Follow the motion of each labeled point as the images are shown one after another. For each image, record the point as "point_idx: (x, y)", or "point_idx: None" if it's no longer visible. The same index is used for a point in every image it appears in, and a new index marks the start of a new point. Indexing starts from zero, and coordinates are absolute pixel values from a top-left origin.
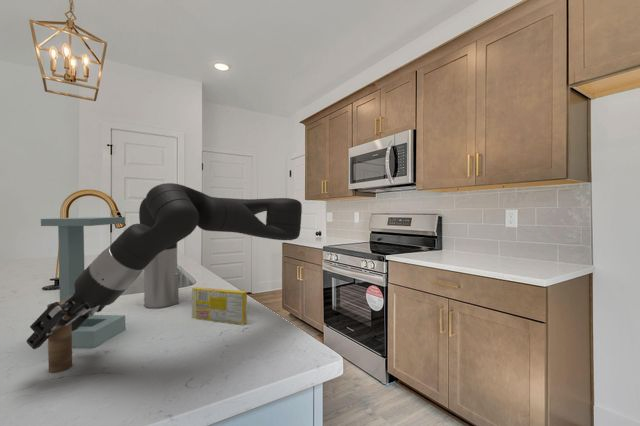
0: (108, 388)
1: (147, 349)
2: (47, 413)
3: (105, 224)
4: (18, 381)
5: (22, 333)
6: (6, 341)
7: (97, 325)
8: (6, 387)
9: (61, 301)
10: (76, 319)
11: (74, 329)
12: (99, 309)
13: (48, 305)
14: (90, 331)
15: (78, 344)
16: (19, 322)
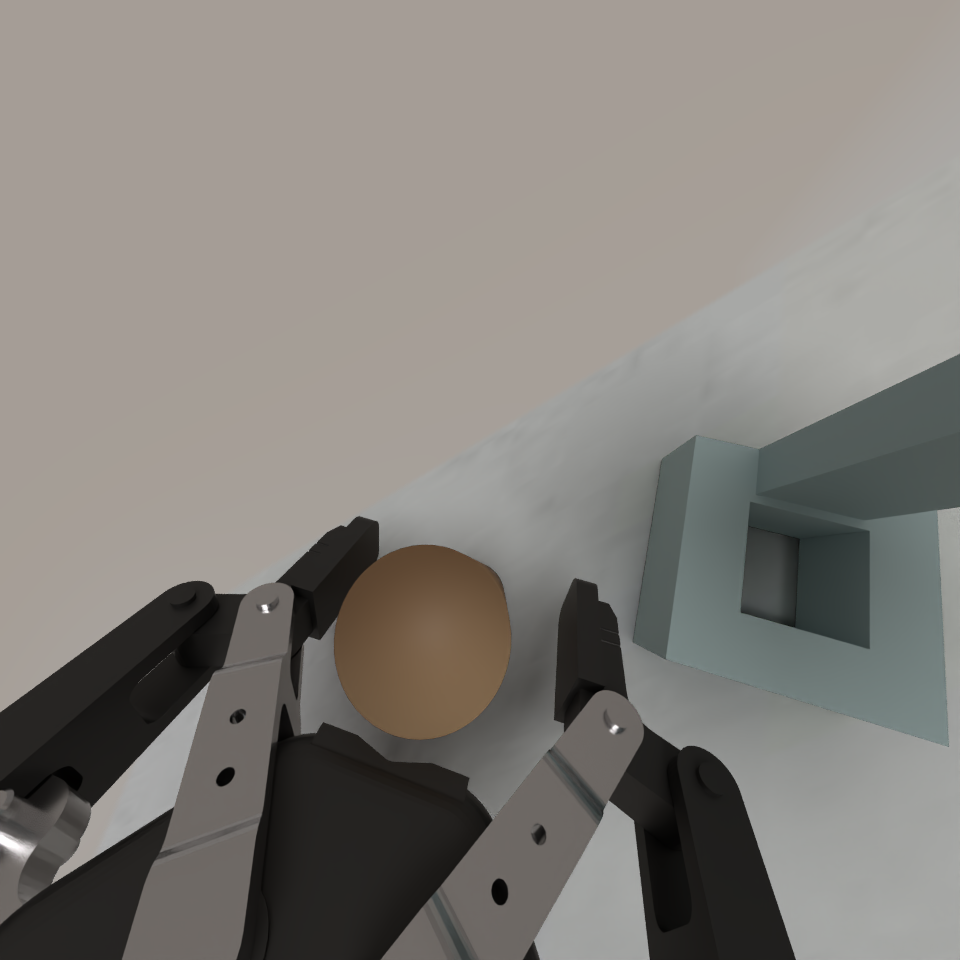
0: None
1: (575, 933)
2: (187, 707)
3: None
4: (411, 511)
5: (805, 296)
6: (730, 294)
7: (755, 638)
8: (384, 500)
9: (504, 611)
10: (565, 653)
11: (559, 626)
12: (636, 839)
13: (392, 561)
14: (667, 638)
15: (649, 572)
16: (922, 219)
